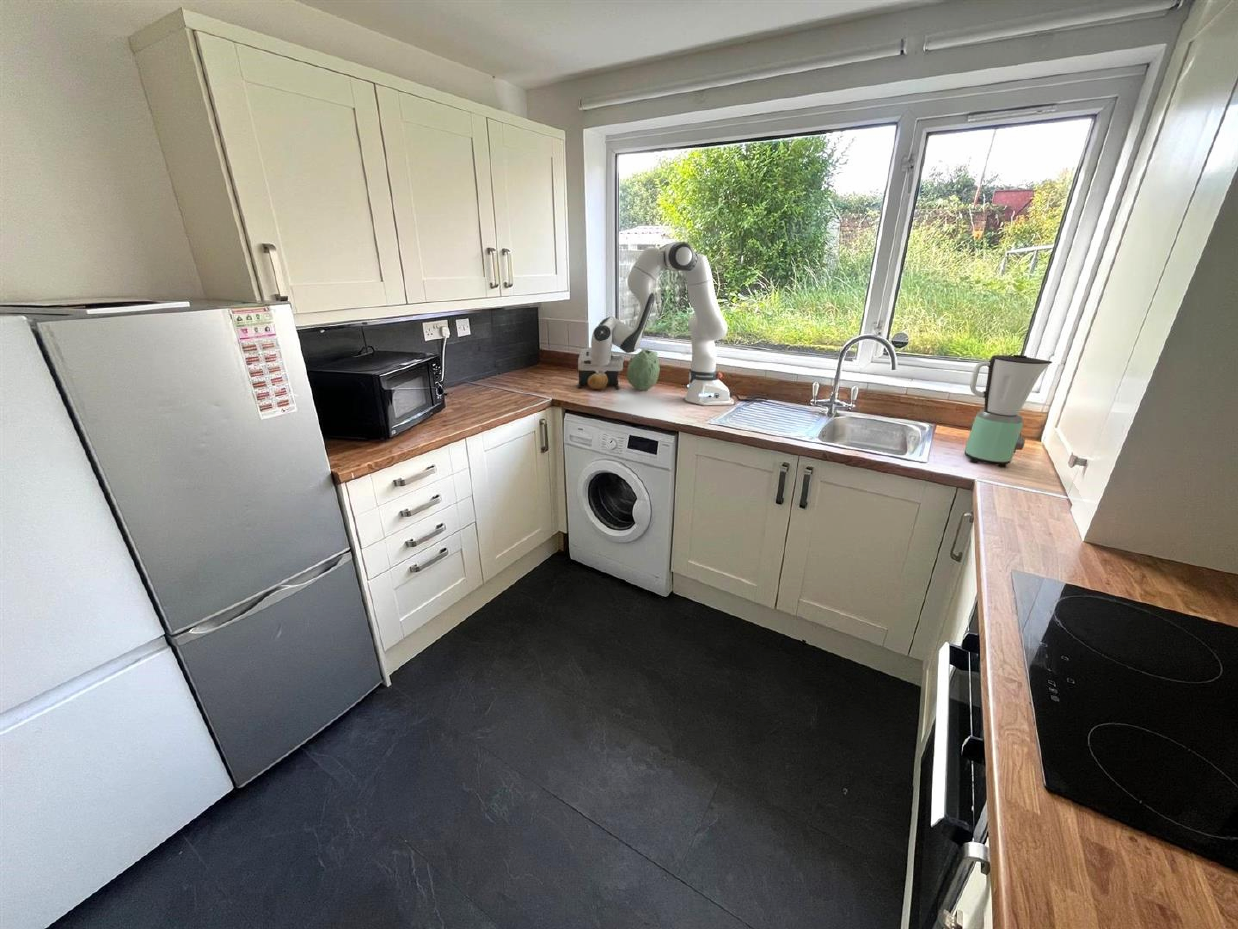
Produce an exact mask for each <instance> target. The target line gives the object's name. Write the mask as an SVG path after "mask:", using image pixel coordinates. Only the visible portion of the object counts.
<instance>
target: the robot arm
mask: <svg viewBox="0 0 1238 929" xmlns="http://www.w3.org/2000/svg"><path fill="white" fill-rule="evenodd" d="M664 270H666V271H672V272H678V271H679V272H681V271H682V273H683V274H684V277H685V282H686V289H687V293H688V299H689V304H690V306H691V307H692V310H693V312H694V314H693V315H692V316H690V318H689V320H688V329H689V332H690V341H691V364H690V370H689V373H688V374H689V375H688V382H689V383H688V384H687V392H686V394H685V397H684V400H685V401H686V402H687V403H692V404H697V405H701V406H728V405H729V406H730V405H731V406H732V405H734V404H735V400H734V399H733V396H735V397H736V400H737V401H741V402H746V401H752V400H757V399H759V398H754V397H749V398H740V397H739V395H738V394H737V393H734V392H733V391H731V390H730V389H729V388H728V386H726V385H725V383H724V382H723V381H721V380H720V379H722V377H723V374H722V373H721V372H718V371H717V370H716V369H717V368H716V367H717V359H718V352H717V348H716V345H715V342H717V341H720V340H721V341H722V339H724V338H725V336H726V335H727V333H728V323H727V321H726V320H725V319H724V316H723V314H722V311H721V308H720V306H719V303H718V300H717V296H716V291H715V284H714V279H713V274H712V270H711V266H710V263H709V260H708V258H707V256H706V255H705V254H702V253H697V252H696V251H695V250H694V248H693V247H692V246H691V244H689V243H688V242H684V241H672V242H670V243H667V244H665V245H663V246H661V247H660V248H658V247H656V246H652V245H650V246H647V247H645V248H644V249H643V251H642V252H641V253H640V254H639V256H638V257H637V259H636V261H635V262H634V264H633V266H632V267H631V269H630V271H629V273H628V276H627V286H628V288H629V291H630V292H631V293H632V294H633V296H634V297H635V299H636V300H637V302H638V304H639V311H638V314H637V317H636V320H635V324H634V326H633V327H631V326H629V325H628V324H626V323H624V322H622V321H621V320H620V319H618V318H616V317H613V316H608V317H606V318H603V319H602V320H601V321H600V323H599V324H598V325H597V326H596V327H595V328H594V329H593V332H592V334H591V339H590V347H586V348H582V349H581V350H580V354H579V356H578V360H577V369H578V371H579V370H588V371H595V372H596V373H597V375H603V373H604V372H606V371H618V372H622V371H623V370H624V362H625V358H626V357H624V356H622V355H618V354H617V355H615V354H614V355H613V354H612V348H613V345H614V346H616V347H618V348H619V349H620V350H621V351H623V352H624V353H626V354H632V353H634V352H637V351H638V349H639V347H640V345H641V342H642V340H643V336H644V333H645V329H646V327H647V323H648V321H649V318H650V315H651V313H652V309H653V306H654V303H655V297H656V296H655V293H654V286H655V283H656V281H657V280H658V277H659V275H660V274H661V272H663V271H664ZM763 399H764V400H765V401H769V399H768V397H766V398H763Z"/></svg>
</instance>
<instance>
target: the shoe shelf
mask: <svg viewBox="0 0 1238 929" xmlns="http://www.w3.org/2000/svg"><path fill="white" fill-rule="evenodd" d="M604 373H605V374H606V375H607V378H608V383H607V386H606V387H615V388H616V390H617V391H618V390H619V383H620V382H619V375H618V374H619V371H606V372H604ZM593 374H596V372H595V371H588V370H579V369H578V385H577V386H578V387H577V388H578V390H580V389H581V386H589V385H588V378H589V377H590V376H591V375H593Z"/></svg>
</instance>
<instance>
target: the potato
mask: <svg viewBox="0 0 1238 929" xmlns="http://www.w3.org/2000/svg"><path fill="white" fill-rule="evenodd" d="M607 383H608V378H607V375H606V374H605V373H603V375H597V373H596V374H593V375H591V376H590V377H589V378H588V385H587V386H589V388H591V389H593V390H603V389H605V388H606V387H608V386H607Z"/></svg>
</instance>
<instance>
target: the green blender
mask: <svg viewBox="0 0 1238 929" xmlns="http://www.w3.org/2000/svg"><path fill="white" fill-rule="evenodd" d="M1052 363H1053V361H1052V360H1045V359H1040V358H1033V357H1028V355H1023V354H1013V355H1005V354H1003V355H1001V354H996V355H992V357H991V358H990V360H985V361H980V362H978V363H977V364H976V365H975V367H974V369H973V370H972V371H973V372H972V374H971V379H970V382H969V389H970V392H971V394H973V395H975V396H976V397H980V398H983V399H984V408H983V409H981V410H979V411H978V412H977V413H976V415H975V417H974V419H973V422H972V426H971V429H970V432H969V435H968V438H967V442H966V445H965V448H964V455H965V456H966V457H967V458H968V459H970V463H973V464H979V462H980V463H983V464H988V465H996V466H997V467H999V468H1004V469H1005V468H1006V466H1007V465H1009V464H1010V463H1011V462H1012V461H1013V457H1014V454H1016V451H1018V450H1019V451H1022V450H1023V448H1024V446H1025V443H1026V438H1025V437H1023V436H1022V430H1023V426H1024V419H1023V416H1022V415H1021V414H1020V412H1021V410H1022V409H1023V406H1024V405H1025V403H1026V401H1027V399H1028V398H1029V396H1030V394H1031V392H1032V390H1033V389H1034V386H1035V385H1036V383H1037V382H1038V379H1039V377H1040V376H1041V375H1042V373H1043V372H1044V371H1045V370H1046V369H1047V368H1048V367H1049V366H1050V364H1052ZM982 367H987V368H988V371H987V379H986V385H985V390H983V391H979V390H977V381H978V377H979V374H980V371H981V368H982Z"/></svg>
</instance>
